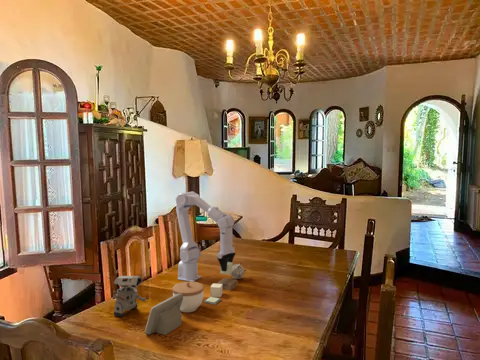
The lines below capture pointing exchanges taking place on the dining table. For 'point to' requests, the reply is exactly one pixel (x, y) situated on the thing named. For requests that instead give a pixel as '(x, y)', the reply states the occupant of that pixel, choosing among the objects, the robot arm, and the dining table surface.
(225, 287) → the walnut base
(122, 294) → the figurine
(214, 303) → the tile
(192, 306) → the lidded bowl
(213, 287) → the cream cube
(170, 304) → the digital clock
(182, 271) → the robot arm
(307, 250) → the dining table surface
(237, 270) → the game die
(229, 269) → the sage cube
